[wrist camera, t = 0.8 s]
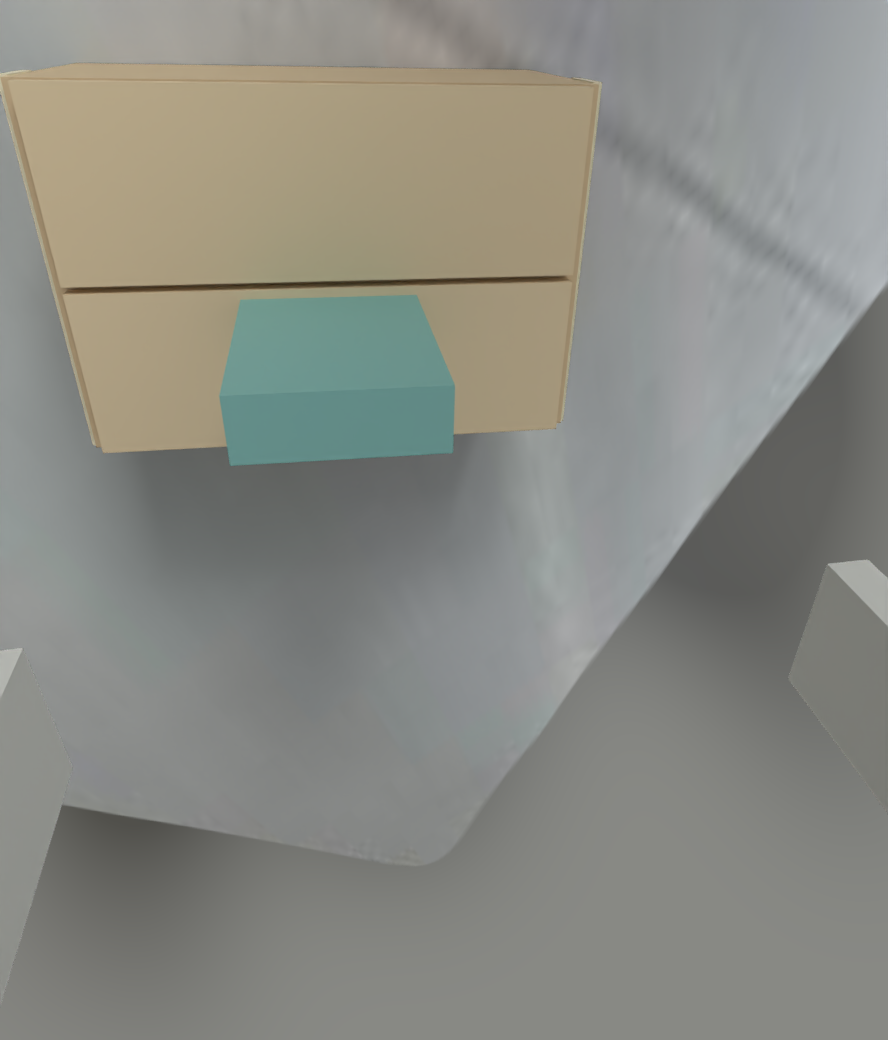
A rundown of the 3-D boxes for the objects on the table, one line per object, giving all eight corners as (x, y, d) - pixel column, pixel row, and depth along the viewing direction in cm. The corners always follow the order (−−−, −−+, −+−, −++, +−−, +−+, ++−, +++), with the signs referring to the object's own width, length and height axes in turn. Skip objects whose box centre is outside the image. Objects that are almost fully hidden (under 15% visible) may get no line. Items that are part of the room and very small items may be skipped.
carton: (70, 61, 29) (-17, 76, 21) (534, 68, 32) (612, 84, 24) (134, 360, 36) (86, 457, 28) (513, 346, 38) (570, 431, 30)
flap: (67, 289, 25) (-25, 395, 18) (567, 277, 28) (659, 366, 20) (106, 445, 28) (40, 587, 21) (551, 422, 31) (627, 542, 24)
